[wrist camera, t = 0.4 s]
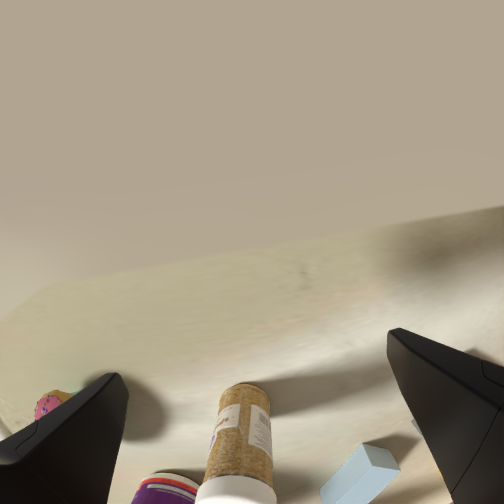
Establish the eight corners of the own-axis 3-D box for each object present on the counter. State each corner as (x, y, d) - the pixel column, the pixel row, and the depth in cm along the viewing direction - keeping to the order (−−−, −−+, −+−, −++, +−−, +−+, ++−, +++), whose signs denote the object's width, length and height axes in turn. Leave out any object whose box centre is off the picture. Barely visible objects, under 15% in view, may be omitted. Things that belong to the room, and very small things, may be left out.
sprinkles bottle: (216, 383, 25) (184, 495, 11) (269, 380, 25) (275, 496, 11) (223, 424, 25) (200, 536, 12) (272, 422, 25) (278, 537, 11)
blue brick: (346, 494, 26) (353, 516, 22) (318, 488, 26) (324, 513, 22) (388, 448, 25) (401, 470, 21) (361, 441, 25) (372, 465, 21)
